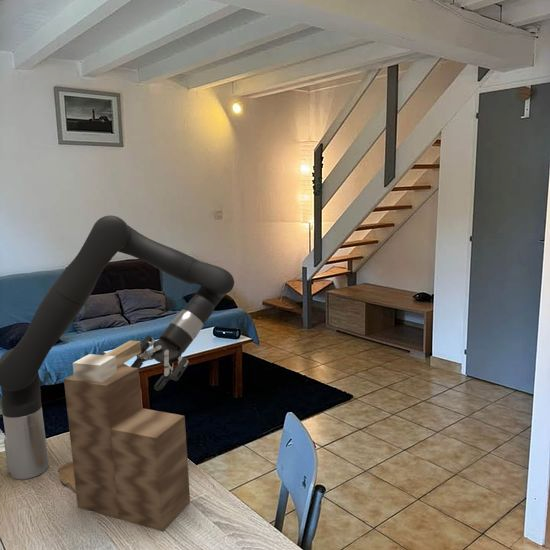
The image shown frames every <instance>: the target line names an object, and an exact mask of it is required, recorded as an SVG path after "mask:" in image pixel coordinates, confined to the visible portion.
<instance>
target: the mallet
mask: <svg viewBox="0 0 550 550" xmlns="http://www.w3.org/2000/svg"><path fill="white" fill-rule="evenodd" d="M141 343H142V342H141V340H128V341H126V342H125V343H122V344H121V345H118V346H117V347H116V348H114V349H113V350H110V351H109V352H107V353H105V354H92V353H89V354H87V355H85V356H83V357H81V358H80V359H78V360H76V361H73V362H72V371H73V374H74V380H78V381H88V382H99V383H102V382H104V381H105V380H107V379H108V378H110V377H111V376H113V375H114V374H116V373H117V367H119V366H123V365H124V364H125V363H126V362H129V361H130V360H131V359H133V358H134V357H137V356H136V355H138V354H140V353H141Z"/></svg>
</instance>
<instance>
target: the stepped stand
mask: <svg viewBox="0 0 550 550" xmlns="http://www.w3.org/2000/svg"><path fill="white" fill-rule="evenodd" d="M63 384H64V391H65V392H64V393H65V403H66V411H67V420H68V429H69V430H68V431H69V432H68V433H69V440H70V450H71V458H72V462H73V468H74V478H75V487H76V493H75V494H76V503H77V508H78V509H82V510H86V511H90V512H94V513H97V514H99V515H104V516H107V517H111V518H114V519H118V520H121V521H125V522H128V523H132V524H136V525H139V526H142V527H145V528H149V529H153V530H156V531H160V532H164V531H165V530H166V529H168V527H169V526H170V525H171V523H173V522H174V520H176V519H177V517H178V516H179V515H180V514H181V513H182V512H183V511H184V510H185V509H186V508H187V506H189V504H190V503H191V495H190V494H191V493H190V479H189V477H190V476H189V464H188V447H187V432H186V429H187V428H186V417H185V415H183V414H182V415H181V414H177V413H170V412H166V411H159V410H154V409H148V408H143V407H142V395H141V384H140V369H139V370H138V368H133V367H130V366H124V365H120V366H119V367H117V373H116V374H114V375H113V376H111V377H110V378H108V379H107V380H105V381H104V382H102V383H99V382H88V381H78V380H74V373H72V374H71V375H69V376H66V377H65V378H63Z"/></svg>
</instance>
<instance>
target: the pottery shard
mask: <svg viewBox="0 0 550 550" xmlns="http://www.w3.org/2000/svg"><path fill="white" fill-rule="evenodd" d="M57 473H58V475H59V479H60V482H61V484H62V485H65V486H66V487H68V488H69V490H71V491H72V492H73V493H74V494H76V487H75V478H74V468H73V461H67V462H65V463H63V464H60V465H59V466H58V467H57Z"/></svg>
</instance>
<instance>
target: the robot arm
mask: <svg viewBox="0 0 550 550" xmlns="http://www.w3.org/2000/svg"><path fill="white" fill-rule="evenodd" d="M117 253H122V254H125V255H128V256H131V257H133V258H136V259H139V260H141V261H142V262H145V263H147V264H149V265H151V266H152V267H154V268H156V269H158V270H159V271H161V272H163V273H165V274H166V275H169V276H171V277H173V278H175V279H177V280H179V281H182V282H184V283H187V284H190V285H198V286H200V287H199V289H198V290H197V291H196V293H195V294H194V295H193V297H191V298H190V300H189V301H188V302H187V304H185V306H184V307H183V308H182V309H181V310H180V312H178V313H177V314H176V316H174V318H173V319H172V320H171V322H169V324H168V325H167V327H166V328H165V330H163V332H162V334H161V335H160V336H159V338H158V339H157V340H155V339H154V338H153V336H152V335H147V336H146V337H145V338H144V339H143V340H142V341H141V342H140V343H141V353H140V354H138V355H136V356H135V357H136V359H135V360H134V362H132V364H131V365H130V366H129V367H133V368H138V370H139V371H140V368H141V367H142V366H143V364H144V363H145V362H148V361H152V360H154V361H156V362H157V363H160V364H161V365H162V366H163V369H164V372H163V374H162V375H160V377H159V378H158V380H157V381H156V382H155V384H154V386H153V389H154V390H156V392H159V391H161V390H162V389H163V388H164V387H165V386H166V384H167V383H168V381H171V380H172V381H175V382H177V381H179V379H180V378H181V376H182V375H183V373H184V372H185V371H186V369H187V367H188V366H189V364H190V361H189V360H188V358H186V357H185V356H184V357H183V356H182V355H183V353H185V352H186V351H187V349H188V347H190V345H191V344H192V343H193V341H194V340H195V339H196V337H198V335H199V333H200V332H201V330H202V329H203V327H204V325H205V324H206V323H207V321H208V320H209V319H210V317H211V316H212V315H213V312H214V309H215V308H216V307H217V305H218V304H219V303H220V302H221V301H222V299H224V297H225V296H226V295H227V294H229V293H230V292H231V291H233V288H234V286H235V279H234V276H233V275H232V273H231V272H229V270H226V268H223V267H220V266H217V265H215V264H211V263H208V262H204V261H201V260H198V259H197V258H195V257H193V256H191V255H188V254H186V253H184V252H182V251H180V250H177V249H175V248H173V247H170V246H167V245H165V244H163V243H160V242H157V241H155V240H154V239H152V238H149V237H147V236H145V235H144V234H142V233H140V232H138V231H137V230H136V229H134V228H133V227H131V226H130V225H129V224H127V222H125V221H124V220H123V218H120V217H119V216H116V215H105V216H102V217H100V218H98V219H97V220H96V221H95V223H94V224H93V226H92V228H91V229H90V232H89V234H88V236H87V237H86V240H84V243H83V245H82V246H81V248H80V250H79V252H78V253H77V255H76V256H75V257H74V258H73V260H71V262H70V263H69V264H68V265H67V266H66V268H65V269H64V270H63V271H62V273H61V274H60V275H59V277H58V278H57V279H56V281H55V282H54V283H53V284H52V285H51V287H50V289H49V290H48V291H47V292H46V294H45V296H44V297H43V299H42V300H41V302H40V303H39V305H38V307H37V308H36V311H35V313H34V315H33V317H32V319H31V320H30V323H29V326H28V328H27V329H26V331H25V333H24V335H23V336H22V337H21V339H20V340H19V341H18V343H17V344H16V345H15V346H14V347H13V348H10V349H8V350H6V351H5V352H4V353H2V355H1V356H0V389H1V411H2V418H3V419H2V420H3V425H4V434H5V435H4V436H5V438H4V440H3V443H4V445H3V446H4V451H5V452H4V453H5V460H6V467H7V473H8V474H10V476H11V478H13V479H15V480H28V479H33V478H35V477H39V475H40V476H41V475H42V474H43V473H45V472H46V471H47V470H48V468H49V456H48V448H47V447H48V446H47V440H46V432H45V423H44V415H43V407H42V397H41V396H42V392H41V384H40V383H41V382H40V374H39V373H40V372H39V370H40V369H41V367H42V365H43V364H44V361H45V359H46V358H47V356H48V355H49V353H50V351H51V349H52V348H53V347H54V345H55V344H56V343H57V342H58V341H59V339H60V338H61V337H62V336H63V334H65V332H66V331H67V329H68V328H69V326H70V325H72V323H73V322H74V320H75V319H76V318H77V316H78V315H79V313H80V312H81V311H82V309H83V307H84V306H85V305H86V303H87V301H88V299H89V298H90V296H91V294H92V292H93V290H94V289H95V286H96V285H97V282H98V280H99V277H100V276H101V273H102V272H103V271H104V269H105V268H106V267H107V265H108V264H109V263H110V262H111V260H112V259H113V258H114V257H115V255H116V254H117ZM150 347H152V348H150ZM149 348H150V349H149ZM176 362H177V366H176V367H175V368H174V363H176Z"/></svg>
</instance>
